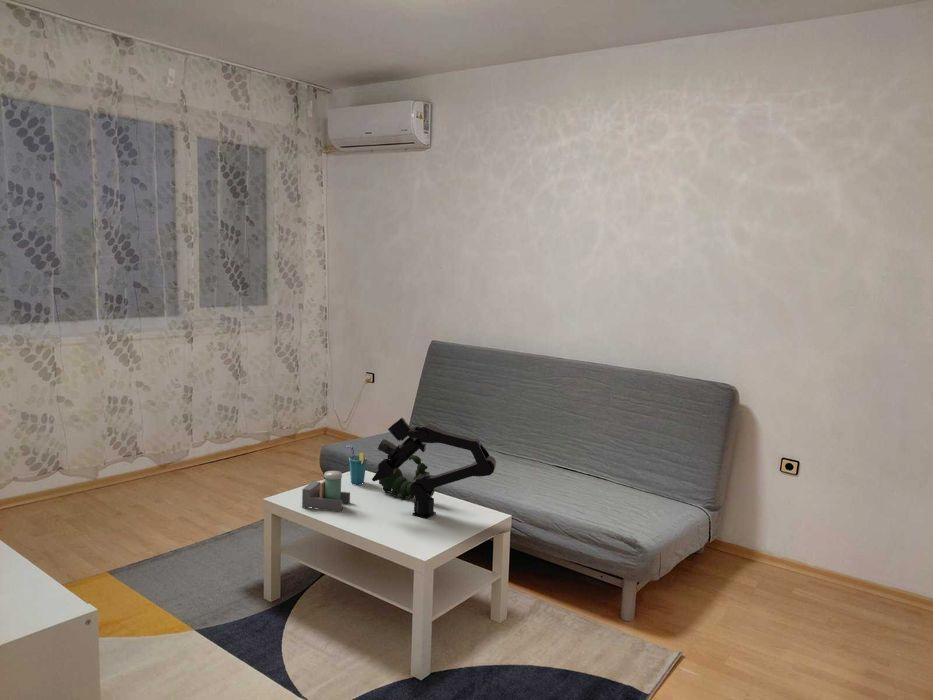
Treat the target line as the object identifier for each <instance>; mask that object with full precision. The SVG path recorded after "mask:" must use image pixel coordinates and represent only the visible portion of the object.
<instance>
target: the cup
mask: <svg viewBox="0 0 933 700" xmlns="http://www.w3.org/2000/svg"><path fill="white" fill-rule="evenodd" d="M345 448H348V449H349V448H350V450H351V454H352V456H351V457H348V462H349V473H350V476H349V477H350V484H351V483H352V484H351V485H353V484H356V485H355V486H360V485H359V484H362V483H365V477H366V466H367V461H368V458H367V457H366V456H365V453H364V451H361V452H360V453H359V455H355V450H354V447H353V445H346V446H345ZM362 485H363V484H362Z"/></svg>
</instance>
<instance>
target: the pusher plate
mask: <svg viewBox="0 0 933 700" xmlns="http://www.w3.org/2000/svg"><path fill="white" fill-rule="evenodd" d="M324 497H325V479H324V480H322V481H321V482H320V498H324Z"/></svg>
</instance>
